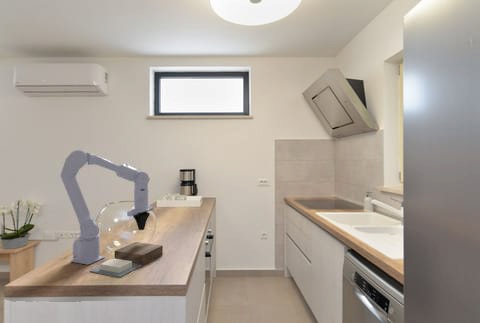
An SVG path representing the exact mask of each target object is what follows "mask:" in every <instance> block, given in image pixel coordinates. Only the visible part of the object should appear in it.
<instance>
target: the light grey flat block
mask: <svg viewBox="0 0 480 323" xmlns="http://www.w3.org/2000/svg"><path fill="white" fill-rule="evenodd" d="M99 266H100V270H105V271H111V272H116V273H121V272H123V271H125V270H127V269H129V268H131V267H132V261H127V260H121V259H115V257H114V258H111V259H108V260H107V261H104V262H102V263H100V264H99Z"/></svg>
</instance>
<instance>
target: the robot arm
mask: <svg viewBox="0 0 480 323" xmlns="http://www.w3.org/2000/svg"><path fill="white" fill-rule="evenodd" d="M64 160H65V161H64V163H63V167H62V170H61V173H60V178H61V180H62V183H63V185H64V188H65V191H66V193H67V195H68V198H69V200H70V202H71V205H72V208H73V210H74V212H75V214H76V217H77V220H78V223H79V230H80V232H79V233H80V236H79V237H77V238H76V239H75V240H74V241H73V245H72V259H71V260H70V262H71V263H77V264H80V265H81V264H83V265H87V266H88V265H90V264H93V263H96V262H97V261H101V260H103V259H105V258H106V257H105V256H104V255H100V252H101V251H100V244H101V243H100V240H101V239H100V234H99V233H100V228H99V226H98V222H96V220H94V218H92V215H91V213H90V209H89V206H88V205H87V202H86V200H85V197H84V195H83V193H82V190H81V187H80V186H79V182H78V180H77V178H76V177H77V175H78V174H79V171H80V170H81V169H82V168H83V167H84V166H85V165H86V164H87V165H89V166H90V165H91V166H92V165H93V166H95V165H96V166H98V167H101V168H105V169H108V170H110V171H113V172H115V173H116V176H117V177H119V178H122V179H124V180H125V181H128V182H131V183H132V182H133V183H134V189H133V192H134V194H133V196H134V197H133V198H134V199H133V201H134V203H133V206H134V207H133V208H134V209H131V210H129V211H127V212H126V216H127V217H130V218H131V217H133V219H134V220H135V222H136V225H137V229H138V230H139V231H144V230H145V229H146V228H145V227H146V224H147V220H148V218H149V217H150V215H151V214H150V212H151V211H152V212H153V211H155V206H154V205H149V188H148V184H149V182H150V175H148V173H146V172H144V171H142V170H141V171H140V168H134V167H132V166H130V164H129V163H122V164H117V163H114V162H112V161H110V160H108V159H105V158H103V157H102V156H99V155H98V154H94V153H90V152H84V151H83V150H81V149H79V150H78V149H77V150H74V151H72V152H70V153H69V155H68V156H67V157H66V158H65V159H64Z"/></svg>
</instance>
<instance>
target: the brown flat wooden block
mask: <svg viewBox="0 0 480 323" xmlns="http://www.w3.org/2000/svg"><path fill="white" fill-rule="evenodd" d="M163 248H164V247H163V245H162V244H154V243H152V244H151V243H146V242H139V241H137V242H136V241H135V242H133V243H129V245H125V246H123V247H120V248H118V249H115V250H114V252H113V254H114V258H115V259H121V260H127V261H132V263H135V264H141V265H142V266H141V267H143V266H145V265H147V264H149V263H150V262H153V261H154V260H156V259H158V258H160V257H161V256H163V254H164V253H163Z"/></svg>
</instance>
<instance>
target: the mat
mask: <svg viewBox="0 0 480 323" xmlns="http://www.w3.org/2000/svg"><path fill="white" fill-rule="evenodd" d="M141 267H143V266H142V265H141V264H135V263H132V267H131V268H129V269H127V270H125V271H123V272H121V273H116V272H111V271H105V270H100V265H99V266H97V267H95V268H93V269H91V270H89V272H90V273H95V274H99V275H100V274H101V275H106V276H110V277H115V278H122V277H125V276H126V275H128V274H130V273H132V272H134V271H136V270H138V269H139V268H141Z"/></svg>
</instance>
